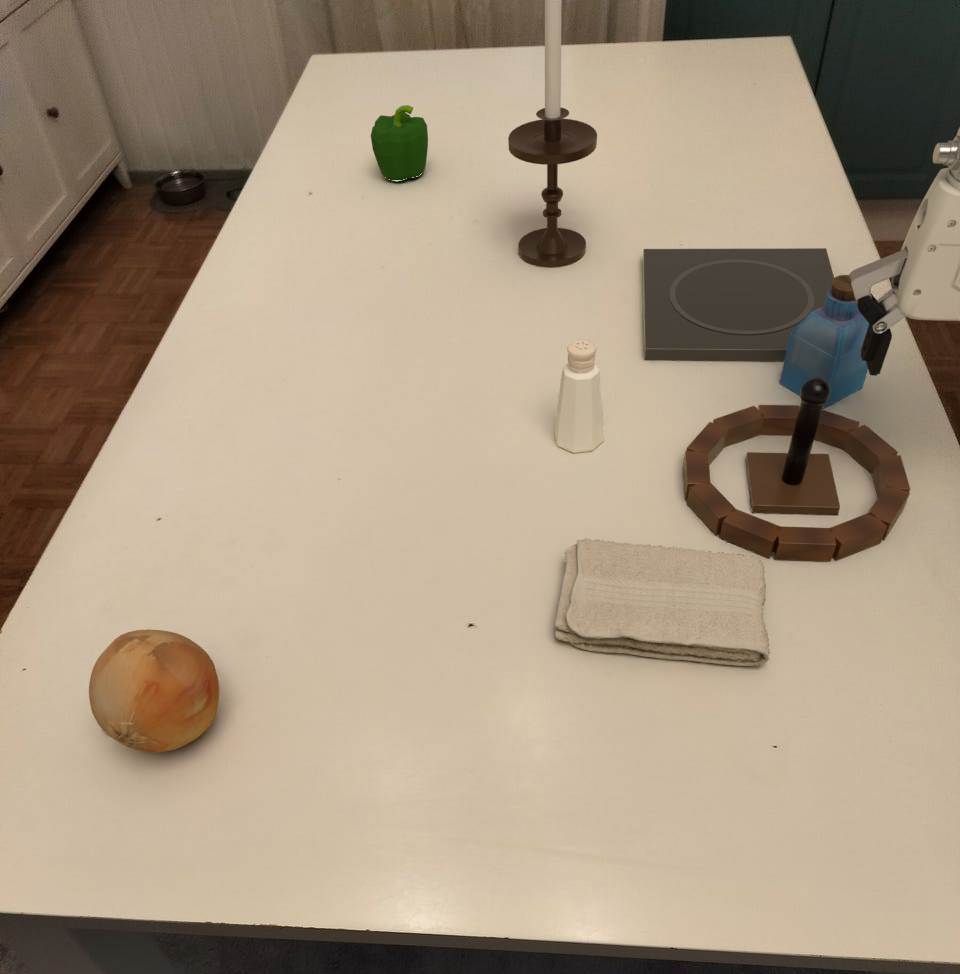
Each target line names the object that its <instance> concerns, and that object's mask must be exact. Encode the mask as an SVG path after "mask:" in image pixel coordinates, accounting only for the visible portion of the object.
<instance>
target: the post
mask: <svg viewBox="0 0 960 974" xmlns="http://www.w3.org/2000/svg"><path fill="white" fill-rule="evenodd" d="M830 394H831V388H830V385H829V383H828V382H827V381H826V380H825V379H823V378H820V377H813V378H810V379H808V380H807V381H806V382H805V383H804V384H803V385H802V387H801V389H800V396H799V398H800V404H799V405H800V407H799V411H798V415H797V419H796V423H795V427H794V431H793V435H791V439H790V442H789V447H788V450H787V452H760V451H759V452H756V451H755V452H754V451H753V452H752V451H747V452H746V455H745V465H746V466H745V467H746V475H747V482H748V483H747V484H748V490H749V498H750V499H749V500H750V506H751V513H753V514H755V513H756V514H782V515H783V514H785V515H786V514H787V515H819V516H821V515H822V516H825V515H826V516H838V515H839V513H840V509H841V505H840V501H839V496H838V492H837V487H836V482H835V478H834V473H833V467H832V464H831V459H830V455H829V453H812V449H813V446H814V441H815V439H814V438H815V435H816V431H817V428H818V424H819V420H820V417H821V413H822V410H824V409H823V406H824V403H826V402H827V400H828V399H829V397H830Z"/></svg>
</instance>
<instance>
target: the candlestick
mask: <svg viewBox="0 0 960 974" xmlns="http://www.w3.org/2000/svg"><path fill="white" fill-rule="evenodd" d="M562 1H563V0H544V108H543V107H542V108H540V109H538V111H536V113H535V116H536V117H537V118H539V119H537V120H533V121H529V122H525V123H522V124H521V125H519V126H517V127H515V128H514V129H512V131H510V133H509V135H508V137H507V141H508V142H507V143H508V145H507V146H508V152H509V153H510V154H511V155H512V156H513V157H514V158H516V159H518V160H519V161H521V162H522V161H523V162H525V163H530V164H534V165H546V187H545V188H544V189H542V191H541V198H542V200H543V202H544V203H545V204H546V206H545V208H544V209H543V210H542V216H543V217H544V218H546V227H544V228H538V229H535V230H532V231H530V232H527V233H526V234H524V235H523V236H522V237H520V239H519V241H518V244H517V249H518V250H517V251H518V256H519V257H520V259H521V260H522V261H524V262H525V263H526V264H529V265H531V266H534V267H540V268H561V267H567V266H569V265H572V264H574V263H577V262H578V261H580V260H582V258H583V257H584V256H585V255H586V251H587V241H586V239H585V237H584V235H582V234H581V233H579V232H577V231H575V230H573V229H570V228H565V227H558V219H559V218H560V217H561V216H562V214H563V213H562V212H563V211H562V209H561V208H559V203H560V202H561V201H562V199H563V196H564V190H563V189H562V188H561V187H559V185H558V179H559V177H558V175H559V173H558V172H559V165H562V164H569V163H573V162H577V161H580V160H582V159H584V158H587V157H588V156H590V155H591V154H592V153H594V152H595V150H596V149H597V145H598V132H597V131H596V129H595V128H594V127H593V126H591V125H590V124H588V123H587V122H584V121H580V120H577V119H570V118H567V117H568V116H569V115H570V111H569V110H568V109H567V108H564V107H562V106H561V105H562V104H561V102H562V101H561V98H562V97H561V95H562V91H561V90H562V9H563V2H562Z"/></svg>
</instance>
